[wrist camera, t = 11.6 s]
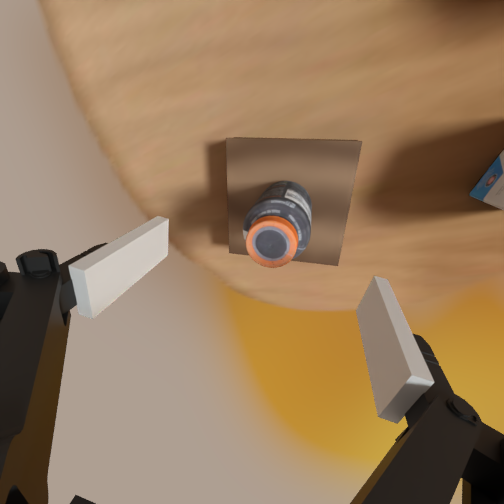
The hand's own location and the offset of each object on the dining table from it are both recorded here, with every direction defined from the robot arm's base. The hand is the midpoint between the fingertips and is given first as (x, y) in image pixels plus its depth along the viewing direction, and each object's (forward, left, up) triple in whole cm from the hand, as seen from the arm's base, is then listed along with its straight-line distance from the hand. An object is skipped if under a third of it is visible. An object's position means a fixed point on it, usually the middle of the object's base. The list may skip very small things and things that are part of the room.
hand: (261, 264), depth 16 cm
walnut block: (0, 0, -19) cm, 19 cm away
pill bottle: (0, 0, -15) cm, 15 cm away
